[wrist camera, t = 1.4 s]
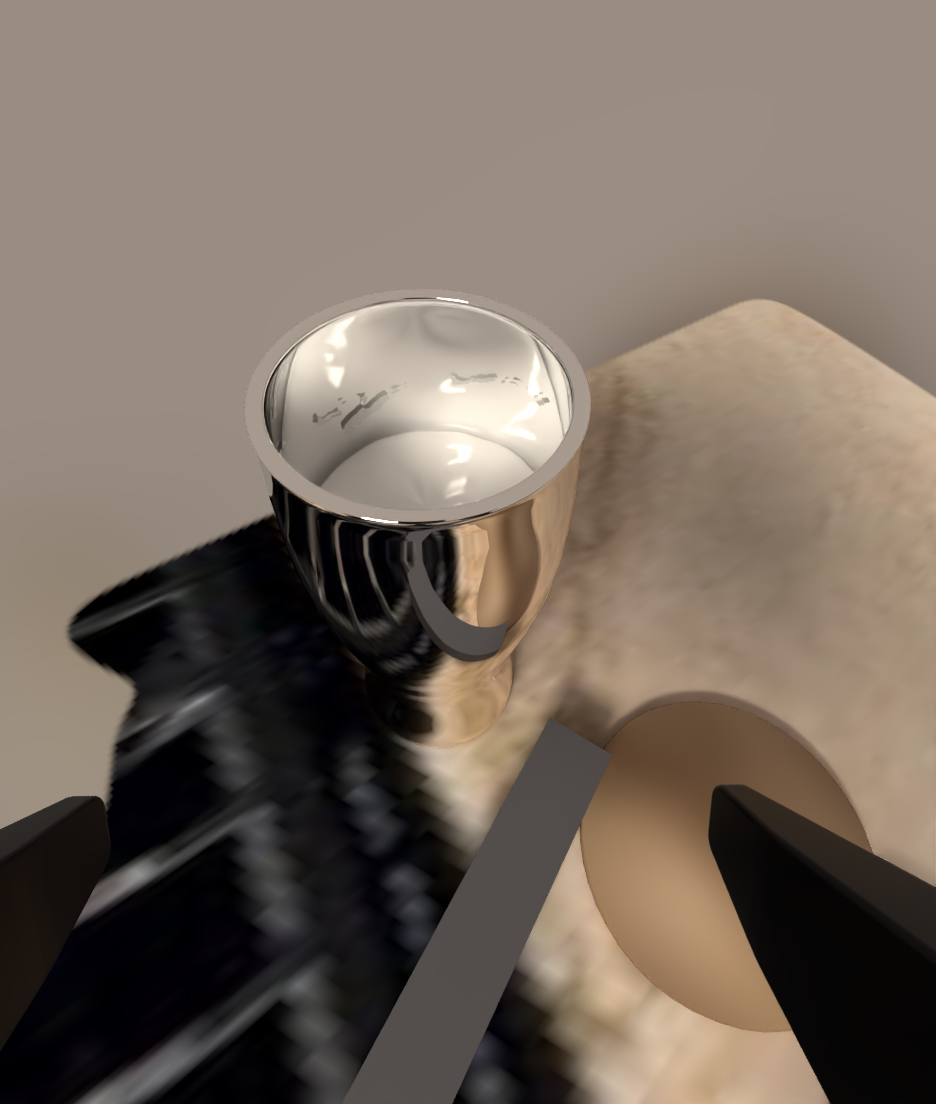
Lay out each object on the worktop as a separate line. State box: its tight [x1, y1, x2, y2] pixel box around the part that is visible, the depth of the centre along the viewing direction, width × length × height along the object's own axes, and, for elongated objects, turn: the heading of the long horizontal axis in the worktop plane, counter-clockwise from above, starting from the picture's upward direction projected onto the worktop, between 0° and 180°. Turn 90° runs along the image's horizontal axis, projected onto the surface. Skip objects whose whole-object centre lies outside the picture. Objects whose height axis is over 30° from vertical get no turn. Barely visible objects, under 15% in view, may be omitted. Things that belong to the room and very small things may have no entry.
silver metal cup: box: [244, 289, 591, 748], centre depth 17 cm, size 7×7×15 cm
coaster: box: [580, 702, 872, 1032], centre depth 19 cm, size 10×10×1 cm
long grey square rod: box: [342, 718, 612, 1104], centre depth 18 cm, size 12×2×2 cm, turn 148°
